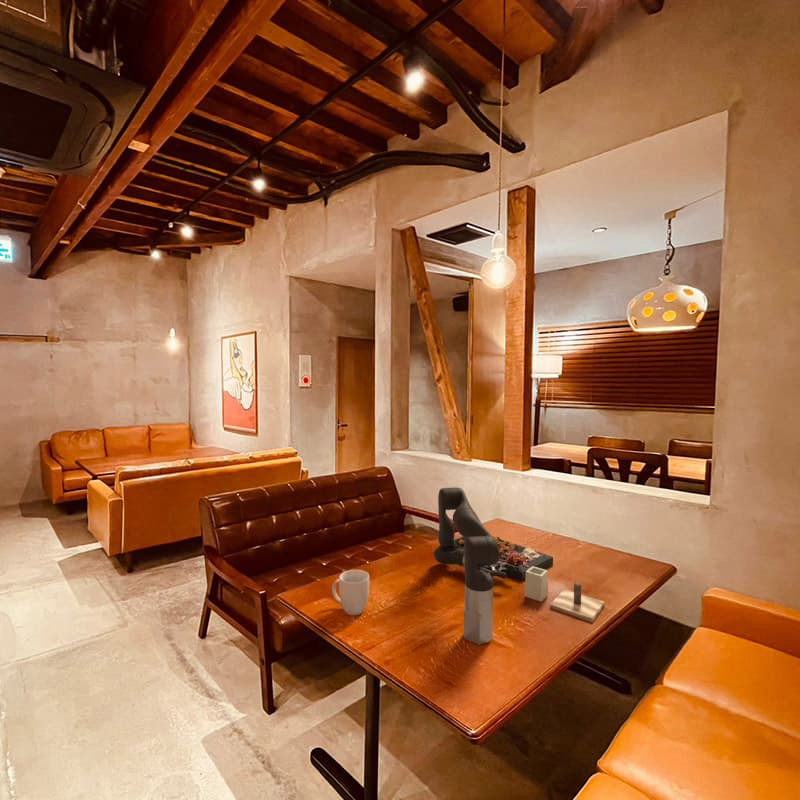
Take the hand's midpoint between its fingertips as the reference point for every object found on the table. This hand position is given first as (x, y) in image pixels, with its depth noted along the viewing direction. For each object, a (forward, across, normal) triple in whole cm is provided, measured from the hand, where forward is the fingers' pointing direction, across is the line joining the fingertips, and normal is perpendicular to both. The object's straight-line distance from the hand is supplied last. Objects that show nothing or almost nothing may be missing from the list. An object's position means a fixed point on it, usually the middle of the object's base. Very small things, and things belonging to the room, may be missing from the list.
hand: (510, 572), depth 178 cm
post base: (+26, +2, +6) cm, 27 cm away
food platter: (-19, +24, +7) cm, 31 cm away
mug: (-37, -54, +6) cm, 66 cm away
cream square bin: (+11, 0, +6) cm, 13 cm away
